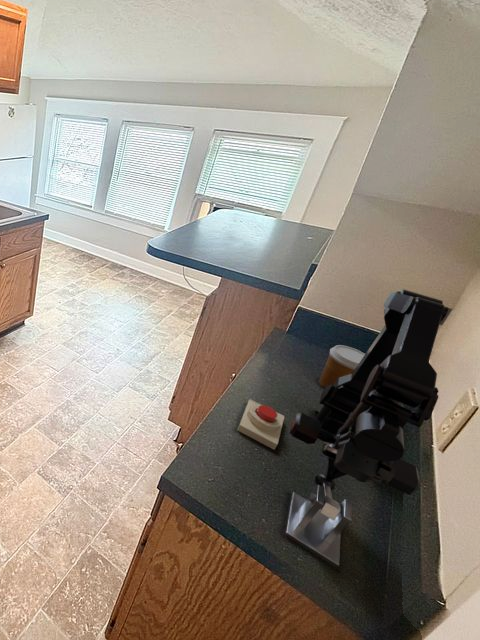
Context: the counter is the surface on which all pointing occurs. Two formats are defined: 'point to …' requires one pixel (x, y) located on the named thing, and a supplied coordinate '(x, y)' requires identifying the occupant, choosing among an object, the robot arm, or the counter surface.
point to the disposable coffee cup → (340, 364)
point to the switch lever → (328, 497)
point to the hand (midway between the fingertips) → (328, 477)
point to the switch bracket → (317, 525)
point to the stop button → (266, 413)
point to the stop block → (260, 426)
